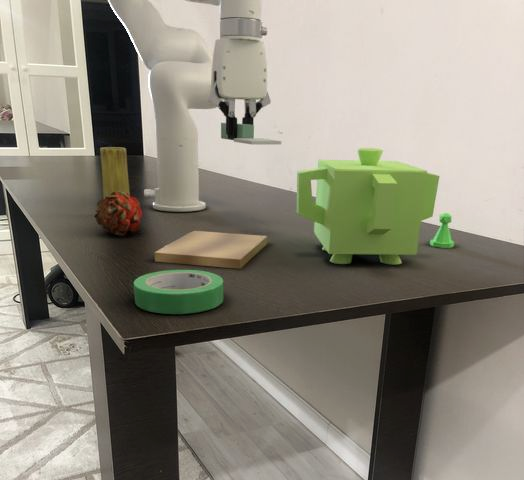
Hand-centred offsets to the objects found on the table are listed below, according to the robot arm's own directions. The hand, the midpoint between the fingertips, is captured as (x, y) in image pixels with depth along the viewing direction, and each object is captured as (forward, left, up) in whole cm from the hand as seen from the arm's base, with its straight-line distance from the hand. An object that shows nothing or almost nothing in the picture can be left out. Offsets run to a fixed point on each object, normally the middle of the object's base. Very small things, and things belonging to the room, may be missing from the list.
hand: (239, 138), depth 111 cm
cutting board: (+3, -24, -17) cm, 30 cm away
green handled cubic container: (+27, -18, -17) cm, 37 cm away
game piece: (+41, -5, -17) cm, 44 cm away
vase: (-27, 0, -17) cm, 32 cm away
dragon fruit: (-19, -15, -17) cm, 30 cm away
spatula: (+2, -2, 0) cm, 3 cm away
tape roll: (+6, -50, -17) cm, 53 cm away
